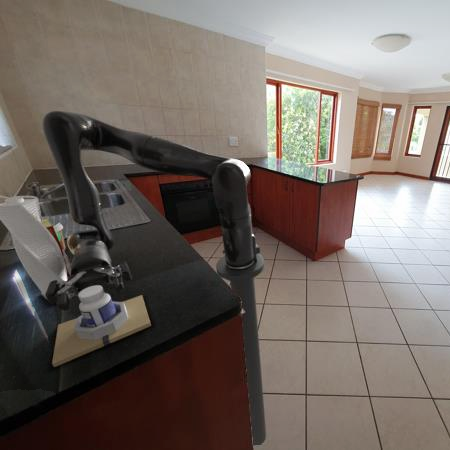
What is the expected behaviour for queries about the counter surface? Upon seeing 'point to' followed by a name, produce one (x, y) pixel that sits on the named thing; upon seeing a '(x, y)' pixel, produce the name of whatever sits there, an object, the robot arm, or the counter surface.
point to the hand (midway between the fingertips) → (92, 297)
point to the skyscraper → (34, 241)
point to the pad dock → (99, 331)
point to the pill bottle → (96, 306)
